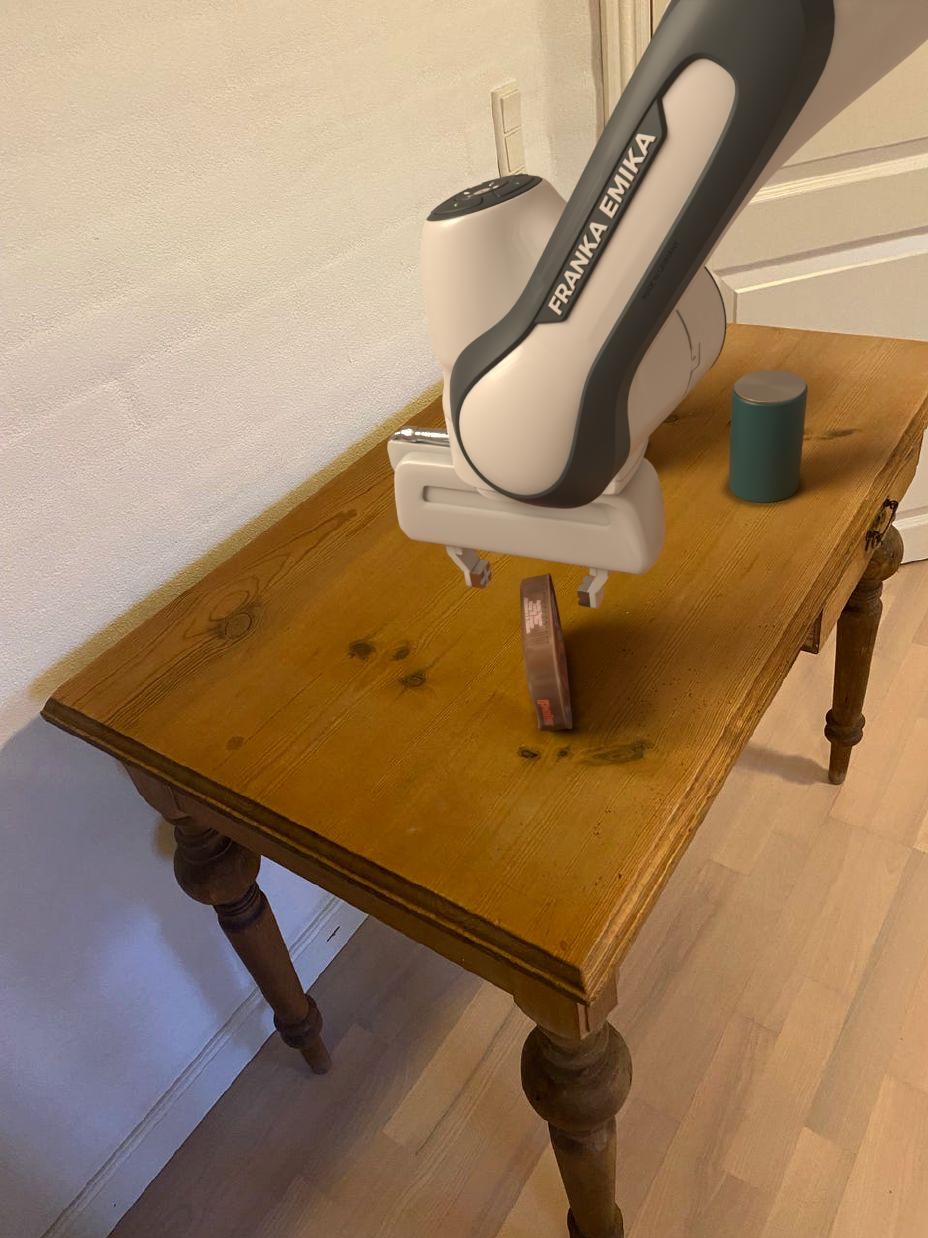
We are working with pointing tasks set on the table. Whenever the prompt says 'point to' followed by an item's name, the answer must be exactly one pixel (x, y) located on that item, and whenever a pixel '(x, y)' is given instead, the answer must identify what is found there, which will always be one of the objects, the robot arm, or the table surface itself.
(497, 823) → the table surface
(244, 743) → the table surface
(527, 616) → the tin
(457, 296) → the robot arm
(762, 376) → the can
